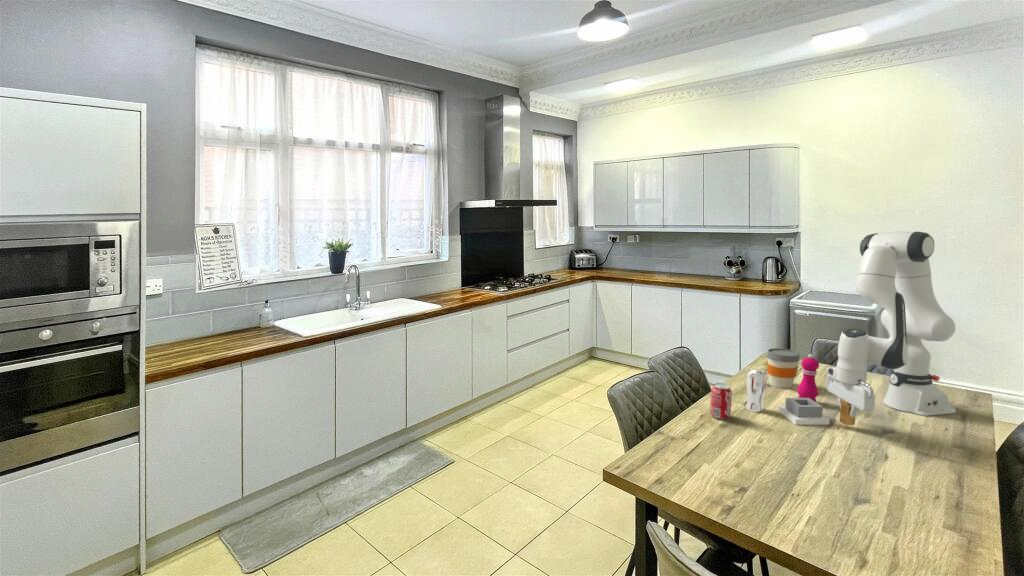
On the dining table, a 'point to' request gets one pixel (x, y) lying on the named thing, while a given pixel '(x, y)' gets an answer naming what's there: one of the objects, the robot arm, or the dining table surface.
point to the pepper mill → (808, 378)
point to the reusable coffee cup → (782, 367)
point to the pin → (846, 413)
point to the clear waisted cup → (755, 389)
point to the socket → (803, 412)
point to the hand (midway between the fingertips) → (847, 413)
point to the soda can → (721, 401)
